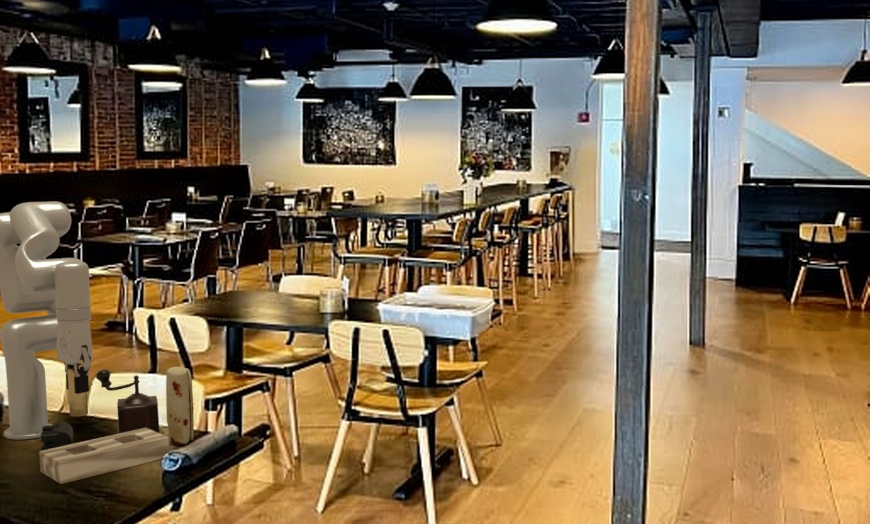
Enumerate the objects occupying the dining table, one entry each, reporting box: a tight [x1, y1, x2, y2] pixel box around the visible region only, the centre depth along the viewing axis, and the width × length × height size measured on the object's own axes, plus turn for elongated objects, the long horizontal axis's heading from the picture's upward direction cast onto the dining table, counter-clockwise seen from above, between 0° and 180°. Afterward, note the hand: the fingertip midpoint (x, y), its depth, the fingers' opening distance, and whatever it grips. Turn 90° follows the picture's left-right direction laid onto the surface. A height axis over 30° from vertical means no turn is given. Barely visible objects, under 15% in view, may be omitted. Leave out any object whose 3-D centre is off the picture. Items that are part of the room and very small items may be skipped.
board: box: [38, 428, 170, 485], centre depth 223 cm, size 12×27×5 cm, turn 134°
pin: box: [67, 366, 89, 417], centre depth 217 cm, size 4×4×11 cm
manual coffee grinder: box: [95, 368, 160, 434], centre depth 245 cm, size 16×11×18 cm
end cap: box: [40, 421, 74, 451], centre depth 233 cm, size 10×7×7 cm
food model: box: [165, 366, 195, 446], centre depth 239 cm, size 10×7×20 cm
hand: (77, 390), depth 217 cm, fingers closed on pin, 4 cm apart
